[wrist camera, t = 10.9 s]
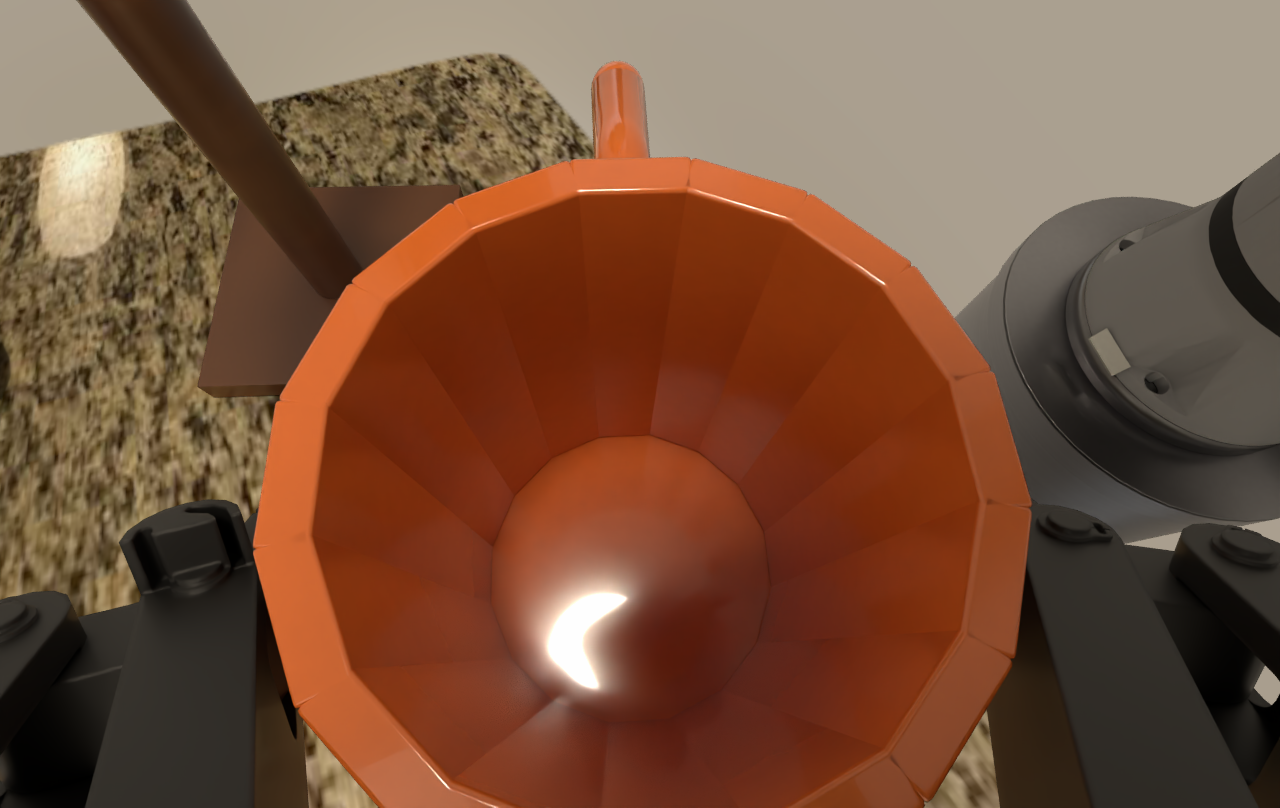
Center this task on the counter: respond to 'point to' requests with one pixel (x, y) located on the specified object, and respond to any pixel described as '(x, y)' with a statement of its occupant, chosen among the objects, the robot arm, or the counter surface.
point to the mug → (642, 501)
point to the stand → (260, 203)
